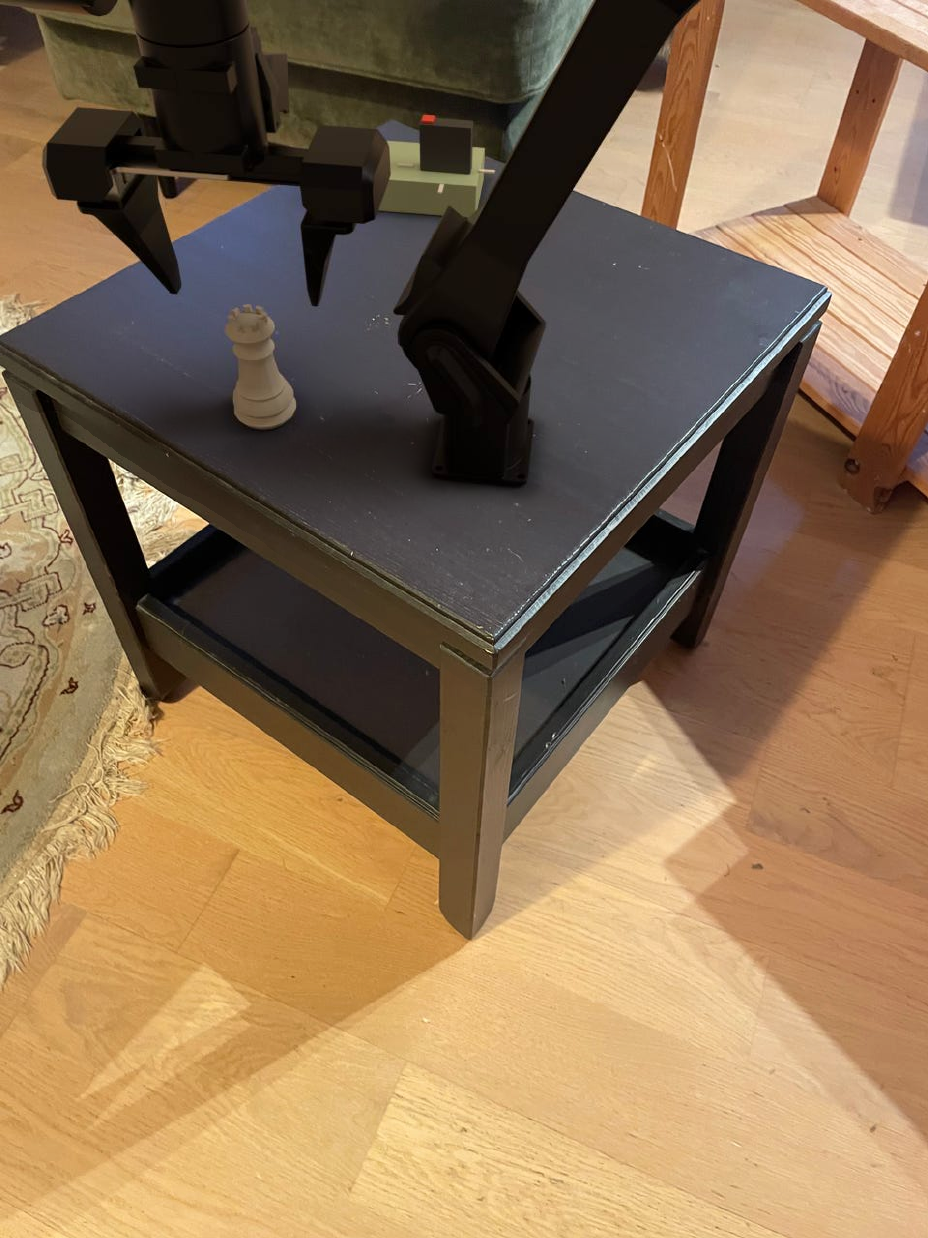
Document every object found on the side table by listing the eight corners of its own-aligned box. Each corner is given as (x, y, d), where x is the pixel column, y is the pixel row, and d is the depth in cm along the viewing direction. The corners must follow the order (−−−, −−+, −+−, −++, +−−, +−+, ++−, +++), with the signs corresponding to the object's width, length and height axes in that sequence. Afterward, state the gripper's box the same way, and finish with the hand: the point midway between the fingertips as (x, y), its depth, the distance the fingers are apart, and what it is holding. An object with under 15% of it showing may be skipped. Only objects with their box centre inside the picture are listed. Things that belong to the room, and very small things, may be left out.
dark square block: (472, 166, 83) (473, 117, 79) (470, 174, 82) (471, 124, 78) (422, 162, 83) (421, 113, 80) (420, 170, 82) (418, 120, 79)
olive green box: (488, 230, 82) (489, 195, 79) (340, 218, 83) (336, 183, 80) (497, 180, 87) (499, 146, 85) (358, 170, 88) (356, 136, 86)
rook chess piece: (309, 413, 67) (295, 317, 60) (258, 441, 65) (238, 344, 58) (273, 384, 68) (255, 287, 62) (222, 410, 67) (199, 313, 60)
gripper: (400, -23, 51) (410, 240, 64) (76, -43, 52) (147, 219, 65) (362, 61, 44) (381, 338, 57) (-10, 36, 46) (88, 312, 58)
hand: (246, 296), depth 59 cm, fingers open, 9 cm apart
